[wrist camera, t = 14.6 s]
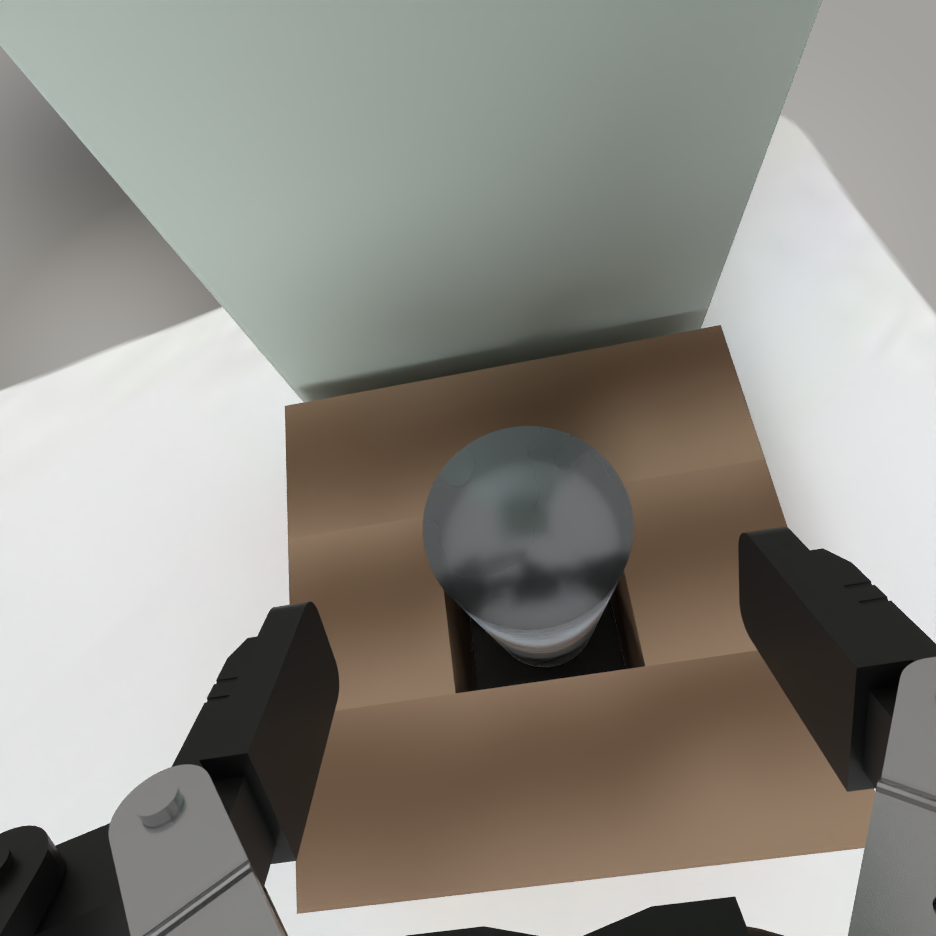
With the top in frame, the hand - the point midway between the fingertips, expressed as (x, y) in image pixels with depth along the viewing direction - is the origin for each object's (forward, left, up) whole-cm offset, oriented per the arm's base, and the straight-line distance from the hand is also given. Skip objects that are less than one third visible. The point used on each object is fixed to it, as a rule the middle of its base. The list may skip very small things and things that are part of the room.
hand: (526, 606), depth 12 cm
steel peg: (+1, +1, -10) cm, 10 cm away
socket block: (+1, +1, -10) cm, 10 cm away
